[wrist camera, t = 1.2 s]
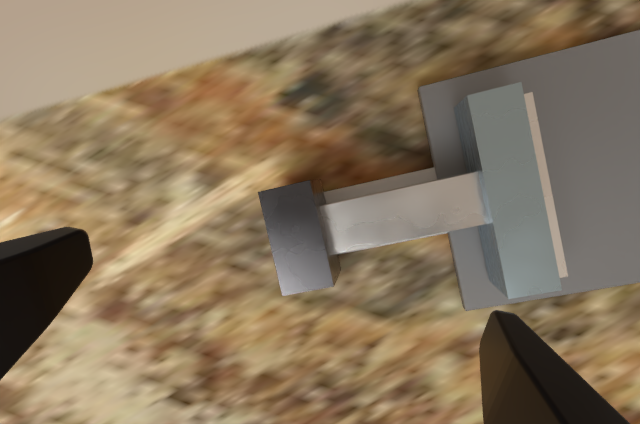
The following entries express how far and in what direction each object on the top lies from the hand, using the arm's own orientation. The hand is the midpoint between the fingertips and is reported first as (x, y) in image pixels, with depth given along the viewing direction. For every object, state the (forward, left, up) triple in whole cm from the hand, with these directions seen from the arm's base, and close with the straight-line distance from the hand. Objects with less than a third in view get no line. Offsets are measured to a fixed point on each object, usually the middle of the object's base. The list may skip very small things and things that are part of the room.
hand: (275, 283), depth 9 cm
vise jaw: (-1, -3, -13) cm, 13 cm away
